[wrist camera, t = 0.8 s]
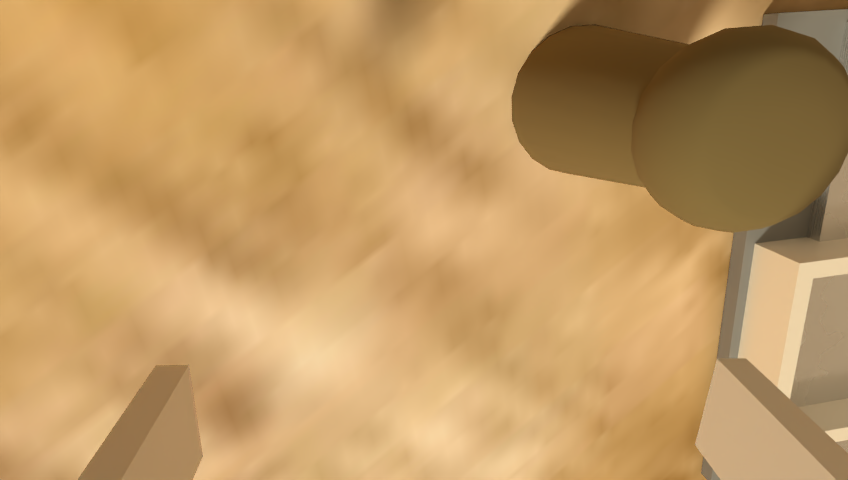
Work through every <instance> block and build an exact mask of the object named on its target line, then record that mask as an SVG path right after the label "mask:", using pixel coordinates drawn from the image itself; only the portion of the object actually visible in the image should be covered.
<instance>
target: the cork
mask: <svg viewBox="0 0 848 480" xmlns="http://www.w3.org/2000/svg"><path fill="white" fill-rule="evenodd" d="M512 121H513V124H514V127H515V130H516V133H517V136H518V139H519V142H520V143H521V145H522V146H523V147H524V148H525V150H526V151H527V152H528V154H529V155H530V156H531V157H532V159H534V160H535V161H537V162H539V163H540V164H542V165H543V166H545V167H546V168H548V169H550V170H554V171H559V172H564V173H568V174H573V175H579V176H585V177H590V178H596V179H601V180H607V181H612V182H618V183H624V184H629V185H635V186H640V187H646V189H647V190H648V192H649V193H650V195H651V196H652V197H653V198H654V199H655V201H656V202H657V203H658V204H659V205H660V206H661V207H663V208H664V209H666V210H667V211H669V212H670V213H672V214H673V215H675V216H676V217H678V218H680V219H681V220H683V221H685V222H687V223H689V224H691V225H693V226H697V227H702V228H707V229H712V230H717V231H724V232H734V233H735V232H742V231H749V230H756V229H762V228H765V227H768V226H771V225H774V224H777V223H779V222H781V221H783V220H785V219H788V218H790V217H792V216H794V215H796V214H798V213H800V212H801V211H802V210H804V209H805V208H806V207H807V206H809V205H810V204H811V203H812V202H814V201H815V200H816V199H817V198H818V197H820V196H821V195H822V194H823V192H824V191H825V190H826V188H827V187H828V186H829V184H830V183H831V182H832V181H833V179H834V178H835V177H836V175H837V174H838V173H839V171H840V169H841V167H842V165H843V163H844V160H845V158H846V156H847V154H848V75H847V73H846V70H845V68H844V66H843V65H842V64H841V63H840V62H839V61H838V59H837V58H836V57H835V56H834V55H833V54H832V53H831V52H829V51H828V50H827V49H826V48H825V47H824V46H823V45H822V44H821V43H820V42H818V41H817V40H816V39H815V38H812V37H809V36H806V35H803V34H800V33H797V32H794V31H791V30H788V29H784V28H781V27H778V26H774V25H764V26H752V27H740V28H728V29H723V30H721V31H719V32H716V33H714V34H712V35H710V36H707V37H705V38H703V39H701V40H698V41H696V42H694V43H692V44H690V45H689V44H684V43H679V42H674V41H670V40H665V39H660V38H655V37H650V36H646V35H641V34H636V33H631V32H626V31H622V30H617V29H612V28H607V27H602V26H598V25H582V26H571V27H569V28H566V29H564V30H562V31H560V32H557V33H555V34H553V35H551V36H549V37H548V38H547V39H546V40H544V41H543V42H542V43H541V44H540V45H539V46H538V47H537V48H536V49H534V50H533V51H532V52H531V54H530V55H529V57H528V58H527V60H526V62H525V63H524V65H523V67H522V68H521V70H520V71H519V73H518V76H517V80H516V83H515V87H514V91H513V94H512Z"/></svg>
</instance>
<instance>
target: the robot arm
mask: <svg viewBox="0 0 848 480" xmlns="http://www.w3.org/2000/svg"><path fill="white" fill-rule="evenodd" d="M695 445H696V447H697V448H698V450H699V451H700V452H701V454H702V455H703V456H704V458H705V459H706V461H707V462H708V463H709V465H710V466H711V467H712V469H713V470H714V471H715V473H716V474H717V476H718V477H719V478H720V480H848V453H847V452H846V451H845V450H844V449H843V448H842V447H841V446H840V445H838V444H837V443H836V442H835V441H834V440H833V439H832V438H831V437H830V436H829V435H828V434H827V433H826V432H825V431H823V430H822V429H821V428H820V427H819V426H818V425H817V424H816V423H815V422H814V421H813V420H812V419H811V418H810V417H808V416H807V415H806V414H805V413H804V412H803V411H802V410H801V409H800V408H799V407H798V406H797V405H796V404H795V403H793V402H792V401H791V400H790V399H789V398H788V397H787V396H786V395H785V394H784V393H783V392H782V391H781V390H779V389H778V388H777V387H776V386H775V385H774V384H773V383H772V382H771V381H770V380H769V379H768V378H767V377H766V376H764V375H763V374H762V373H761V372H760V371H759V370H758V369H757V368H756V367H755V366H754V365H753V364H752V363H751V362H749V361H748V360H747V359H746V358H725V359H717V361H716V365H715V369H714V373H713V377H712V381H711V384H710V388H709V392H708V396H707V400H706V404H705V408H704V412H703V416H702V420H701V424H700V428H699V431H698V435H697V439H696V443H695ZM202 457H203V455H202V448H201V442H200V435H199V428H198V422H197V415H196V409H195V402H194V395H193V389H192V382H191V376H190V369H189V365H156V366H155V368H154V369H153V370H152V372H151V373H150V375H149V376H148V378H147V379H146V381H145V382H144V384H143V385H142V387H141V388H140V389H139V391H138V392H137V394H136V395H135V397H134V398H133V400H132V401H131V403H130V404H129V406H128V407H127V408H126V410H125V411H124V413H123V414H122V416H121V417H120V419H119V420H118V422H117V423H116V424H115V426H114V427H113V429H112V430H111V432H110V433H109V435H108V436H107V438H106V439H105V441H104V442H103V443H102V445H101V446H100V448H99V449H98V451H97V452H96V454H95V455H94V457H93V458H92V459H91V461H90V462H89V464H88V465H87V467H86V468H85V470H84V471H83V473H82V474H81V476H80V477H79V478H78V480H193V477H194V475H195V473H196V470H197V468H198V466H199V463H200V461H201V459H202Z"/></svg>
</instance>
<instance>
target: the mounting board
mask: <svg viewBox="0 0 848 480" xmlns="http://www.w3.org/2000/svg"><path fill="white" fill-rule="evenodd" d="M846 22H848V9H839V10H822V11H805V12H789V13H774V14H764V16H763V24H762V26H764V25H774V26H778V27H781V28H784V29H788V30H791V31H794V32H797V33H800V34H803V35H806V36H809V37H812V38H815V39H816V40H817V41H818V42H820V43H821V44H822V45H823V46H824V47H825V48H826V49H827V50H828V51H829V52H831V53H832V54H833V55H834V56H835V57H836V58H837V59H838V61H839V58H840V53H841V47H842V42H843V36H844V31H845V25H846ZM812 206H813V202H812V203H811V204H810V205H809V206H807V207H806V208H805V209H804V210H802V211H801V212H800V213H798V214H796V215H794V216H792V217H790V218H788V219H785V220H783V221H781V222H779V223H777V224H774V225H771V226H768V227H765V228H762V229H756V230H749V231H742V232H735V233H734V237H733V244H732V252H731V259H730V266H729V274H728V281H727V288H726V296H725V303H724V310H723V318H722V325H721V332H720V340H719V347H718V355H717V359H725V358H738V352H739V345H740V339H741V332H742V325H743V319H744V312H745V305H746V299H747V292H748V285H749V279H750V272H751V265H752V259H753V252H754V245H755V243H763V242H771V241H779V240H787V239H795V238H803V237H807V233H808V228H809V222H810V217H811V211H812ZM701 473H702V475H703V476H704V477H705V478H706V479H707V480H720V478H719V477H718V476H717V474H716V473H715V471H714V470H713V469H712V467H711V466H710V465H709V463H708V462H707V461H706V459H705V458H703V465H702V472H701Z"/></svg>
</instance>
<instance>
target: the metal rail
mask: <svg viewBox="0 0 848 480" xmlns="http://www.w3.org/2000/svg"><path fill="white" fill-rule="evenodd" d="M839 62H840V63H841V64H842V65H843V66H844V68H845V70H846V73H847V75H848V22H846V25H845V31H844V36H843V42H842V47H841V53H840V58H839ZM807 237H808V238H811V239H813V240H816V241H819V242H821V241H829V240H837V239H845V238H848V154H847V156H846V158H845V160H844V163H843V165H842V167H841V169H840V171H839V173H838V174H837V175H836V177H835V178H834V179H833V181H832V182H831V183H830V184H829V186H828V187H827V188H826V190H825V191H824V192H823V194H822V195H821V196H820V197H818V198H817V199H816V200H815V201H814V202H813V206H812V211H811V217H810V222H809V228H808V233H807ZM847 398H848V274H843V275H835V276H828V277H821V278H814V279H813V282H812V287H811V293H810V298H809V303H808V308H807V313H806V319H805V324H804V329H803V334H802V339H801V345H800V350H799V355H798V360H797V365H796V371H795V376H794V381H793V386H792V391H791V397H790V400H791V401H792V402H793V403H795V404H796V405H797V406H798V407H801V406H807V405H812V404H818V403H824V402H829V401H835V400H841V399H847ZM836 443H837V444H838V445H840V446H841V447H842V448H843V449H844V450H845V451H846V452H847V453H848V440H845V441H839V442H836Z"/></svg>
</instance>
